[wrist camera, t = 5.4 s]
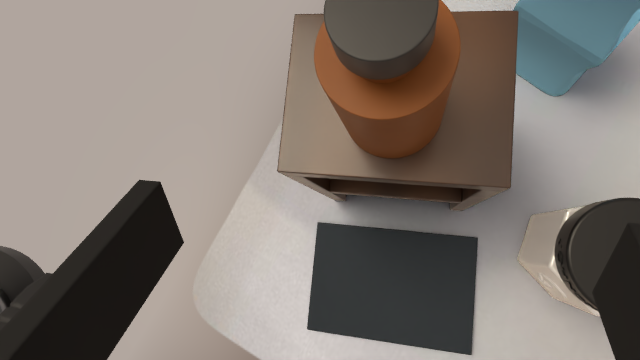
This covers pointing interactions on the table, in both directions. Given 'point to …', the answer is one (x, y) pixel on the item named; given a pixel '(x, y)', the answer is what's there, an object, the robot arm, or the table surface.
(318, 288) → the mat
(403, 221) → the table surface
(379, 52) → the spice bottle
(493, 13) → the block
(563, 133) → the table surface
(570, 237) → the jar
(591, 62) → the blue doll chair
